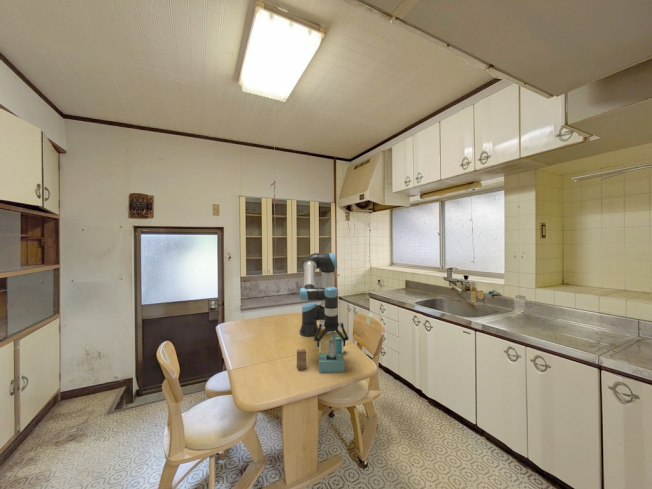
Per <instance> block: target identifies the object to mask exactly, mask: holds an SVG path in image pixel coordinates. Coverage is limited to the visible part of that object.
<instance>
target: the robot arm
mask: <svg viewBox="0 0 652 489" xmlns="http://www.w3.org/2000/svg"><path fill="white" fill-rule="evenodd" d="M302 268H303V270H304V271H303V272H304V274H303V287H301V288H300V289H299V300H300V301H305V302H306V301H307V302H308V301H309V302H308V303H305V304H303V305H302V308H301V326H300V329H299V335H300V336H302V337H309V338H310V337H313V341H314V342H316V345H317V346H316V347H317V348H318V352H319V353H318V355H319V354H322V350H321V349H322V347H321V346H322V344H321V342H322V341H321V340H322V339H323V337H324V336H325V334H327V333H328V332H330V331H333V332H336V333H337V334H339V336H340V337H341V338H342V354H344V347H346V341H348V340H349V336H348V334H346V333H347V331H346V330H345V328H344V323H343V322H340V323H339V315H338V314H339V306H338V305H339V303H338V301H339V300H338V299H339V292H338V291H339V289H338V288H337V287H336V286H334V273H335V272H336V270H337V269H338V261H337V256H336V254H335V253H334V252H333V253H332V252H321V253H320V252H314V253H311V254H309V255H308V256H307V257H306V258H305V259H304V262H303V266H302ZM317 269H319V272H320V273H321V287H316V270H317ZM310 301H320V302H319V304H318V303H317V302H310ZM318 321H324V323H321V322H319V324H318ZM323 327H324V329H323ZM338 328H341V330H339V329H338ZM322 329H323V330H322ZM342 330H343V333H344V335H345V338H344V336H343V335H342V334H341V333H340V331H342ZM321 331H322V332H321ZM345 331H346V332H345ZM320 333H321V334H320Z"/></svg>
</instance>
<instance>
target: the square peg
mask: <svg viewBox="0 0 652 489" xmlns="http://www.w3.org/2000/svg"><path fill="white" fill-rule="evenodd" d="M306 350H307V349H306V348H298V349H296V368H297V371H304V370H307V351H306Z"/></svg>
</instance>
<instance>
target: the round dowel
mask: <svg viewBox="0 0 652 489" xmlns="http://www.w3.org/2000/svg"><path fill="white" fill-rule="evenodd" d="M335 347H336V342H335V341H333V339H331V340H329V341H328V349H327V350H328V351H327V354H328V360H335Z"/></svg>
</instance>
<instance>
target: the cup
mask: <svg viewBox="0 0 652 489" xmlns="http://www.w3.org/2000/svg"><path fill="white" fill-rule="evenodd" d="M339 331H340V333H341V334H342V335H343V336H344V338H345V335H344V333H343V330H342V329H341V330H339ZM345 332H346V334H347V330H345ZM331 333H332V336H331V338H332V340H333V341H335V342H336V347H335V353H342V338H341V337H340V336H339V334H338V333H337V334H335V333H334V331H330V332H329V331H327V332H326V334H327V335H329V334H331ZM347 335H348V334H347ZM342 354H343V353H342Z"/></svg>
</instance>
